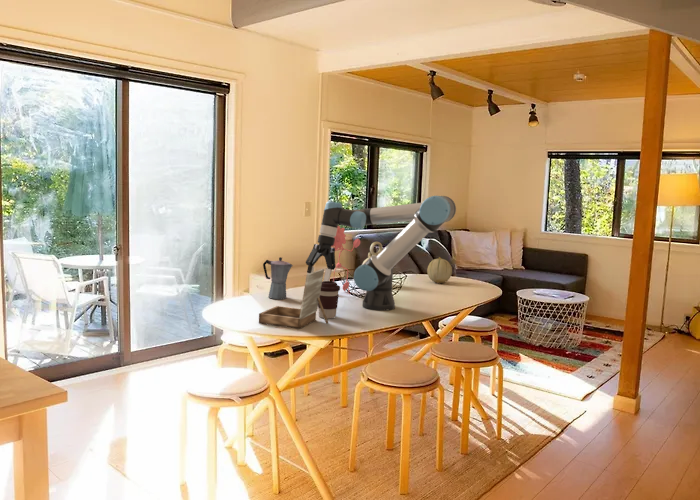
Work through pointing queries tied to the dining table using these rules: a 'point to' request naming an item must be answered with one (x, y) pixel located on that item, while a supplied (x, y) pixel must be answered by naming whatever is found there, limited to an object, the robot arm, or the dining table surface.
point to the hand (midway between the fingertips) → (317, 281)
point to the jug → (373, 251)
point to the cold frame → (294, 315)
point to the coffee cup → (329, 299)
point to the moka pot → (278, 278)
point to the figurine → (338, 244)
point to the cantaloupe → (439, 270)
